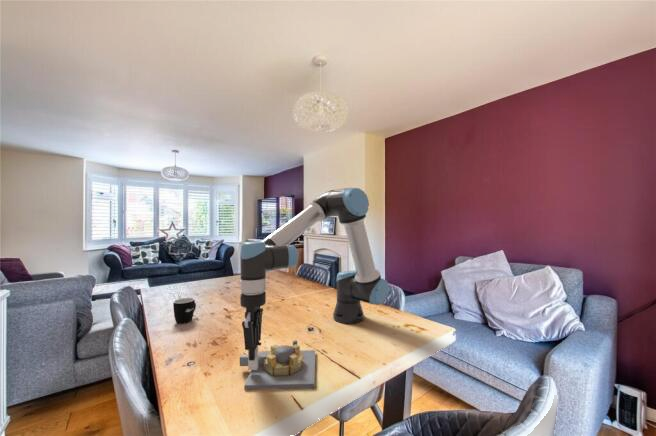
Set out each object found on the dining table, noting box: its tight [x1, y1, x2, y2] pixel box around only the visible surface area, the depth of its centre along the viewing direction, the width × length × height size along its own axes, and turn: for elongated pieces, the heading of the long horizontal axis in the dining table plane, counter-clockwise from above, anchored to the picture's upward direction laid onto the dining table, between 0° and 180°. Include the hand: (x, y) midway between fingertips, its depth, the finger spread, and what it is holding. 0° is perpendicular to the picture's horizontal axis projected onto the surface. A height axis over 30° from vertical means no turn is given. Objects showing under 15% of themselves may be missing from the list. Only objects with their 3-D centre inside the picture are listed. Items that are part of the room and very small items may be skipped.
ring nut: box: [239, 344, 303, 376], centre depth 87 cm, size 20×12×4 cm, turn 92°
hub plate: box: [243, 340, 316, 390], centre depth 87 cm, size 20×20×6 cm
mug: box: [172, 297, 197, 325], centre depth 130 cm, size 12×9×10 cm
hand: (253, 368), depth 83 cm, fingers closed
